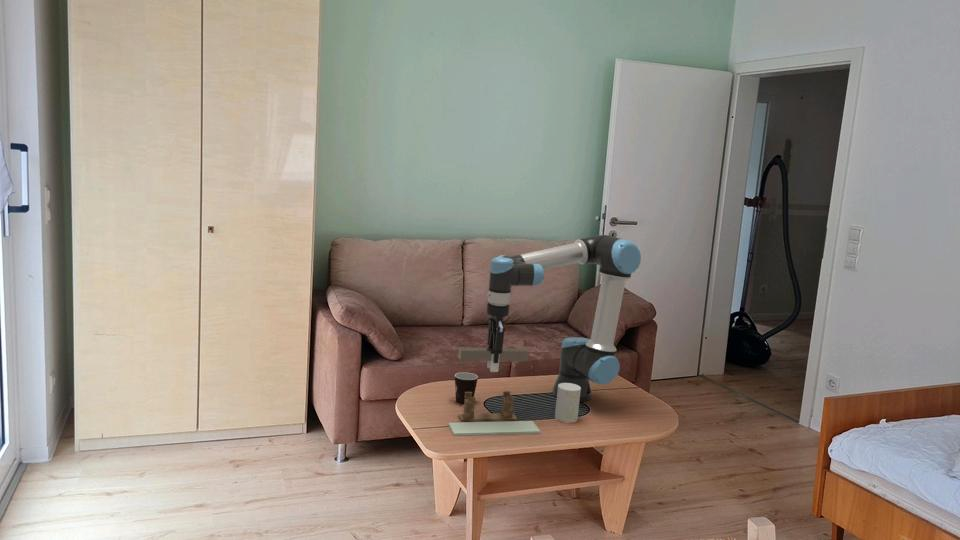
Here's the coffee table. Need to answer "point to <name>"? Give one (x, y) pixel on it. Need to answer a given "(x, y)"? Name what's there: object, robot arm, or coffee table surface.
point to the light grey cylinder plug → (567, 402)
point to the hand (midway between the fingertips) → (492, 369)
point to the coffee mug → (464, 385)
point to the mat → (493, 428)
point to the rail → (485, 354)
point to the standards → (488, 417)
